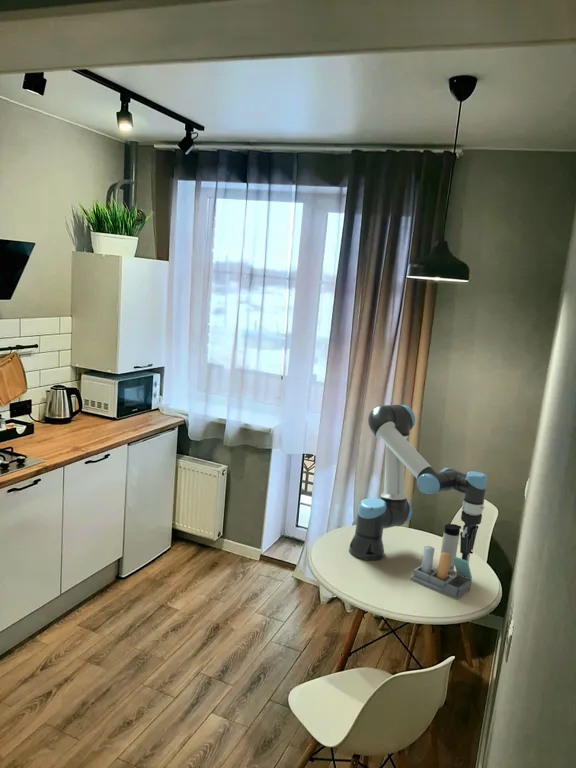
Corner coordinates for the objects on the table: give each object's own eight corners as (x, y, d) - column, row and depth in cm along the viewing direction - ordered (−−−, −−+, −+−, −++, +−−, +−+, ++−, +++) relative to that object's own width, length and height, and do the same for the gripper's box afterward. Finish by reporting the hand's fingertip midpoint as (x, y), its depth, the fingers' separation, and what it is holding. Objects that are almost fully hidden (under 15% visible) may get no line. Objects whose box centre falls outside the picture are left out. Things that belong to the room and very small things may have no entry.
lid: (452, 557, 221) (453, 555, 221) (457, 574, 228) (458, 572, 229) (467, 563, 217) (468, 560, 218) (471, 579, 224) (472, 577, 225)
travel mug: (455, 575, 236) (462, 529, 233) (438, 572, 237) (445, 526, 235) (453, 568, 242) (460, 524, 239) (437, 565, 244) (444, 521, 241)
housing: (410, 579, 228) (411, 569, 228) (423, 570, 237) (424, 561, 237) (457, 599, 216) (459, 589, 215) (470, 589, 225) (471, 579, 224)
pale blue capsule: (418, 575, 230) (422, 547, 228) (423, 572, 233) (427, 545, 232) (427, 579, 228) (431, 551, 226) (432, 576, 231) (436, 548, 229)
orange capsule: (434, 582, 226) (439, 553, 224) (437, 578, 229) (443, 550, 227) (443, 586, 223) (449, 557, 222) (447, 582, 227) (452, 554, 225)
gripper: (475, 519, 214) (467, 577, 217) (487, 510, 223) (479, 566, 227) (456, 513, 218) (448, 570, 222) (469, 505, 228) (461, 560, 232)
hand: (464, 568), depth 225 cm, fingers closed
